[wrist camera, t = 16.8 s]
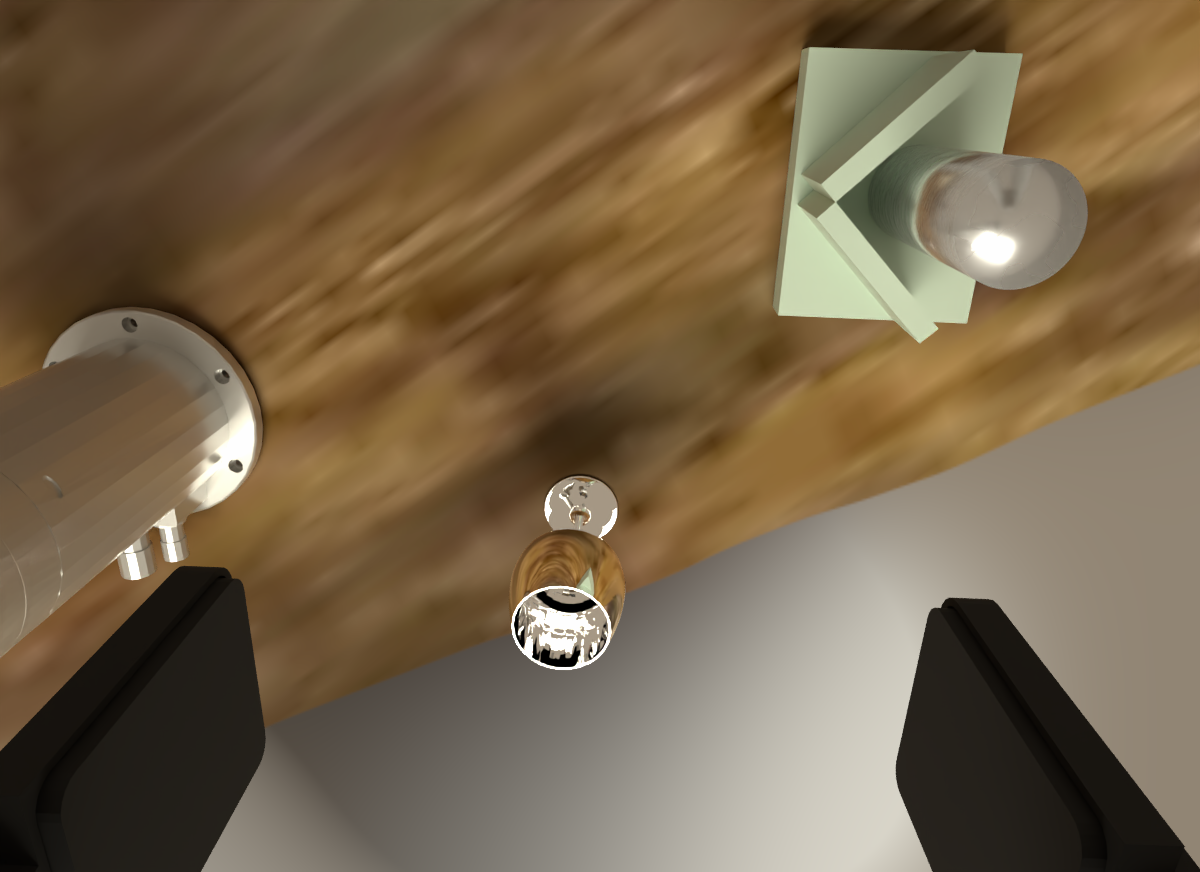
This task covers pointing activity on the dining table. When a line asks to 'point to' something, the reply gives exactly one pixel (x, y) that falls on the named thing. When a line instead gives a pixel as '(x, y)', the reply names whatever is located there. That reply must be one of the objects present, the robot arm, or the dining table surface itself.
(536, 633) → the wineglass
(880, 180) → the steel axle
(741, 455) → the dining table surface
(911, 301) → the v-block
